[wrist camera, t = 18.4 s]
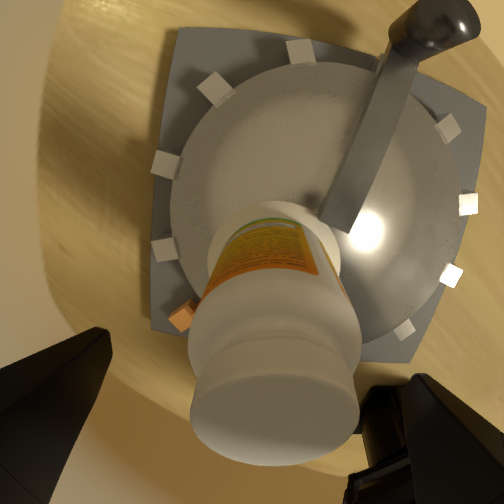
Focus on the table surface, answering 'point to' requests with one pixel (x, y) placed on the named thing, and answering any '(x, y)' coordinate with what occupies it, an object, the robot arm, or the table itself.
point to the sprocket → (332, 169)
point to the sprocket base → (234, 73)
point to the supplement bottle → (274, 349)
